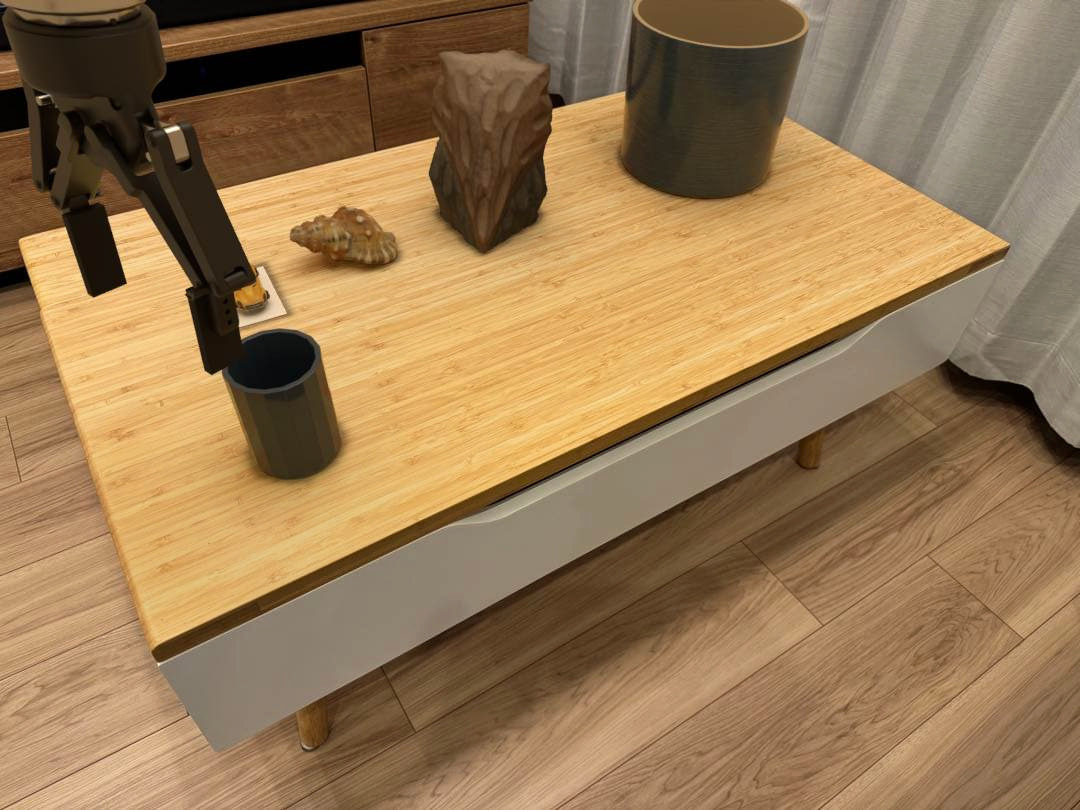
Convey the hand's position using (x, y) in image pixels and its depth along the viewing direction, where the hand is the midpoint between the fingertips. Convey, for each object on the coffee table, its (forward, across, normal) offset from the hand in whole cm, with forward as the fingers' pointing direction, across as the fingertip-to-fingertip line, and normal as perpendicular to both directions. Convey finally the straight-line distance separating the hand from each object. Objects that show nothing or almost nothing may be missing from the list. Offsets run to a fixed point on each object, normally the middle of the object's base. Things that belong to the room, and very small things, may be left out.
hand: (163, 325), depth 56 cm
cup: (+18, -2, -9) cm, 20 cm away
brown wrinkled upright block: (+13, +8, -49) cm, 51 cm away
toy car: (+17, +20, -21) cm, 33 cm away
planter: (+10, -5, -80) cm, 81 cm away
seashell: (+15, +17, -33) cm, 40 cm away
